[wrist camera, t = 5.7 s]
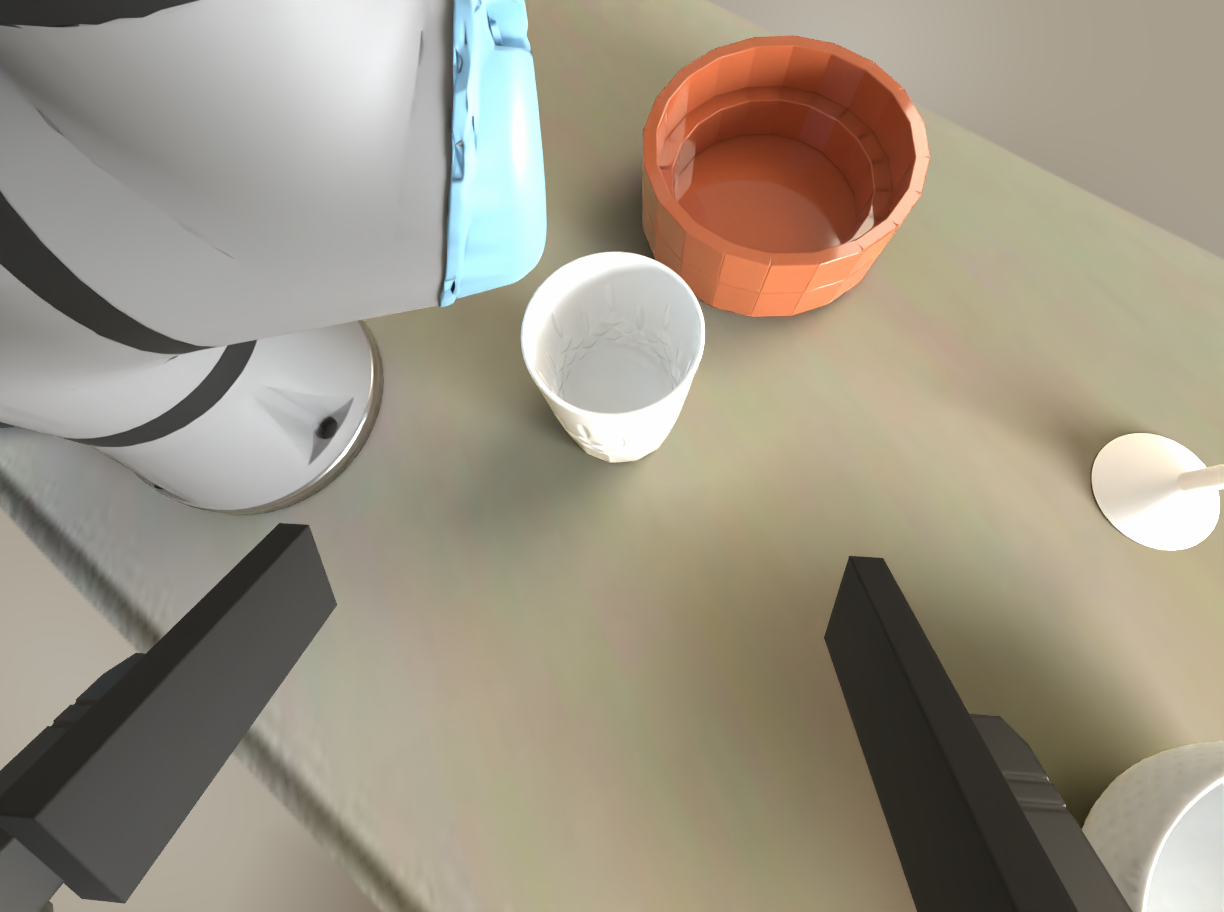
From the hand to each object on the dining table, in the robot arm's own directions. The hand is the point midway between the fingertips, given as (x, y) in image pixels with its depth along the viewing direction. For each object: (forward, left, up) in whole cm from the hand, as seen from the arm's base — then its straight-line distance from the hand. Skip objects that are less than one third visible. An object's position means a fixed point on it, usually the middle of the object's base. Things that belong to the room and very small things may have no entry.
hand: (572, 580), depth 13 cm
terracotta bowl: (+17, +20, -17) cm, 31 cm away
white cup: (+4, +10, -17) cm, 20 cm away
